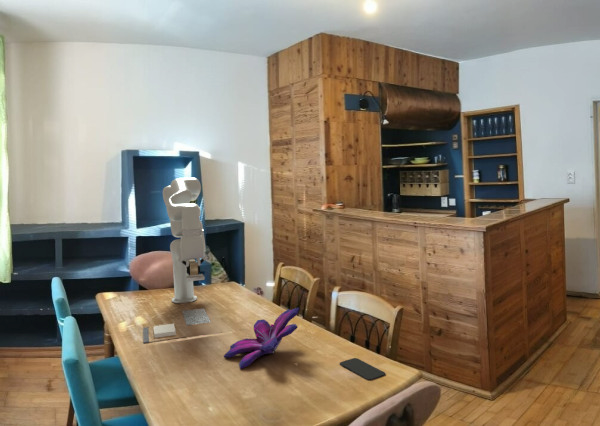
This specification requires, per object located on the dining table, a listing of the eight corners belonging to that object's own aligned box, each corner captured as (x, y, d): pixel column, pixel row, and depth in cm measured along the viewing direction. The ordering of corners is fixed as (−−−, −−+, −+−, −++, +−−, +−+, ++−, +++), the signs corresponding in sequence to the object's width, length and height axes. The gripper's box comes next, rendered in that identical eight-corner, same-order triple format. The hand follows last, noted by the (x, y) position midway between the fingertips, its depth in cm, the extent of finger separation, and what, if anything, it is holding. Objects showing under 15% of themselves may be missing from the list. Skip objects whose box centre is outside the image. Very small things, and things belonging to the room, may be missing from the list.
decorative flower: (241, 395, 138) (226, 367, 137) (230, 363, 168) (217, 341, 166) (324, 341, 145) (310, 314, 144) (299, 320, 175) (287, 298, 174)
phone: (368, 379, 133) (338, 362, 146) (368, 382, 133) (338, 365, 146) (387, 373, 137) (355, 357, 150) (387, 376, 137) (355, 359, 150)
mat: (143, 328, 187) (143, 327, 187) (182, 323, 192) (182, 322, 192) (143, 343, 170) (143, 342, 170) (186, 337, 175) (186, 336, 175)
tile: (153, 326, 182) (154, 334, 173) (173, 323, 185) (175, 331, 175) (153, 331, 182) (154, 339, 173) (174, 328, 185) (175, 336, 175)
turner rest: (182, 313, 207) (182, 311, 207) (204, 310, 211) (203, 308, 211) (186, 327, 187) (186, 325, 187) (210, 324, 190) (210, 322, 190)
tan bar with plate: (183, 273, 203) (183, 260, 203) (199, 271, 206) (199, 258, 205) (187, 281, 187) (187, 267, 186) (204, 279, 189) (204, 265, 188)
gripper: (209, 231, 202) (211, 271, 203) (171, 233, 197) (173, 274, 198) (211, 232, 195) (213, 274, 196) (172, 235, 190) (175, 278, 191)
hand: (193, 274), depth 197 cm, fingers closed on tan bar with plate, 3 cm apart
